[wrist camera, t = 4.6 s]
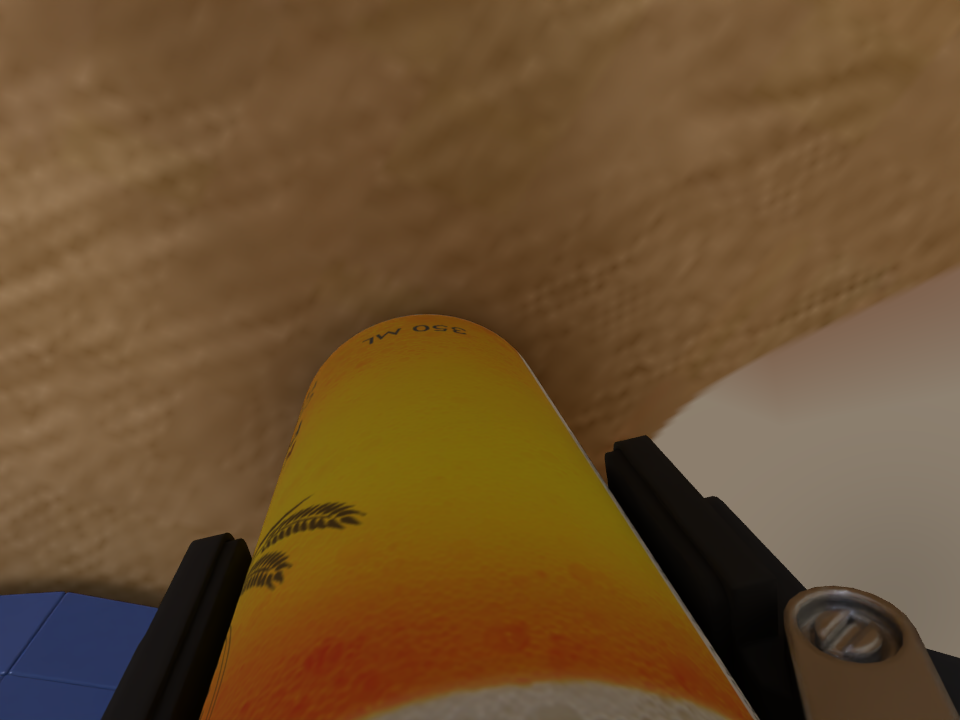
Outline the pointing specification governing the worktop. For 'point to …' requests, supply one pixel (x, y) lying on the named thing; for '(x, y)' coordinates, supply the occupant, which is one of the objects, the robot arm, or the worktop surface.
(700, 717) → the beer can
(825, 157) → the worktop surface
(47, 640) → the bowl
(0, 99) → the worktop surface
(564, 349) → the worktop surface
